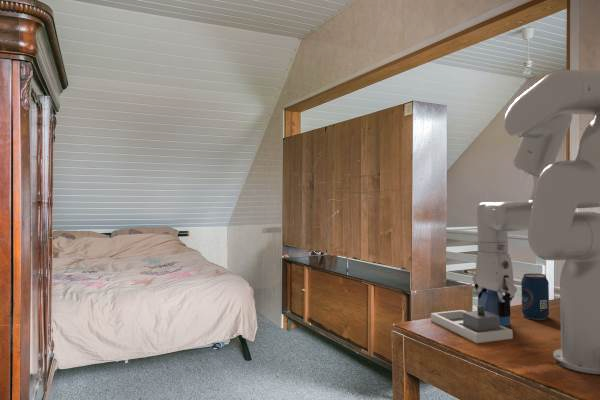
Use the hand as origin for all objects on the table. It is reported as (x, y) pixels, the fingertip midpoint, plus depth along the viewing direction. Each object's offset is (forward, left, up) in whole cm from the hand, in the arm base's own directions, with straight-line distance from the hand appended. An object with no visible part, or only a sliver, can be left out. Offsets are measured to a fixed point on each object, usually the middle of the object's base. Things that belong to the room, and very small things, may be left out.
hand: (493, 312), depth 123 cm
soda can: (+3, -16, -4) cm, 17 cm away
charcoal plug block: (-8, +10, -3) cm, 13 cm away
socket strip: (-3, +10, -4) cm, 11 cm away
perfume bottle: (0, 0, -4) cm, 4 cm away
